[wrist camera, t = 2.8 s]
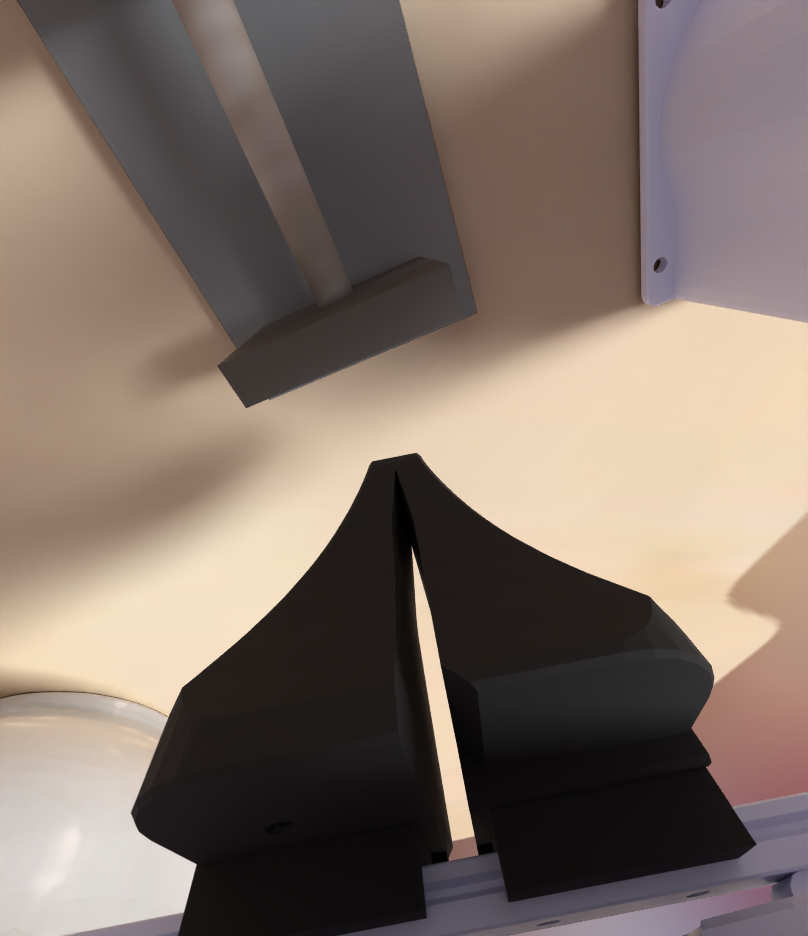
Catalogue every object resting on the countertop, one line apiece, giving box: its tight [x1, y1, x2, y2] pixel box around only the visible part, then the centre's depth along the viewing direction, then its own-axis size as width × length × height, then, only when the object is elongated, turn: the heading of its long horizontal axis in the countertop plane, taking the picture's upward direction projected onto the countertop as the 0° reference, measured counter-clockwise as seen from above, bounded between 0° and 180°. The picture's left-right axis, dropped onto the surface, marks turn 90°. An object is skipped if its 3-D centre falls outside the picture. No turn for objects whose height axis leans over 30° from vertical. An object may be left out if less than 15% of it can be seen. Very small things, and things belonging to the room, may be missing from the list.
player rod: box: [172, 0, 463, 408], centre depth 7 cm, size 13×6×6 cm, turn 21°
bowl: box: [0, 692, 197, 936], centre depth 22 cm, size 32×32×15 cm
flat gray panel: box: [17, 0, 477, 400], centre depth 12 cm, size 12×9×1 cm
